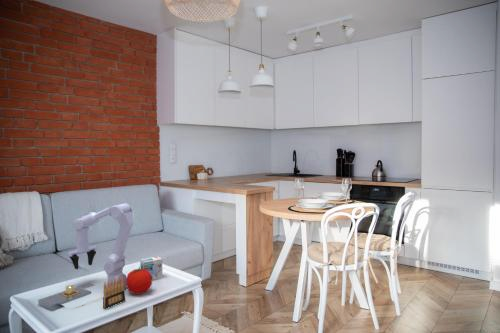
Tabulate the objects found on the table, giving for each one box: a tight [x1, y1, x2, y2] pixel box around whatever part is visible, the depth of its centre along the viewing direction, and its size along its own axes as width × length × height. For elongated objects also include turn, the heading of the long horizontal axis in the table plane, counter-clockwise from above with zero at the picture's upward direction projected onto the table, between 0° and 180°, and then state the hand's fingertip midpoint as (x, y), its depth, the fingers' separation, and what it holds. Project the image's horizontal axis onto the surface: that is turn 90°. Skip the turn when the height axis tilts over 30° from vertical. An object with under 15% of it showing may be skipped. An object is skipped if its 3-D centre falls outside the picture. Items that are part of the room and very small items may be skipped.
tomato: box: [126, 266, 153, 295], centre depth 182 cm, size 12×13×12 cm
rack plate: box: [37, 286, 92, 312], centre depth 174 cm, size 12×19×3 cm, turn 146°
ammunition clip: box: [102, 276, 126, 310], centre depth 168 cm, size 11×2×12 cm, turn 148°
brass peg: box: [65, 284, 75, 296], centre depth 176 cm, size 4×4×6 cm
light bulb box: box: [139, 255, 163, 281], centre depth 202 cm, size 11×7×11 cm, turn 123°
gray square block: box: [77, 282, 95, 290], centre depth 189 cm, size 6×6×2 cm
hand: (83, 266), depth 192 cm, fingers open, 7 cm apart
